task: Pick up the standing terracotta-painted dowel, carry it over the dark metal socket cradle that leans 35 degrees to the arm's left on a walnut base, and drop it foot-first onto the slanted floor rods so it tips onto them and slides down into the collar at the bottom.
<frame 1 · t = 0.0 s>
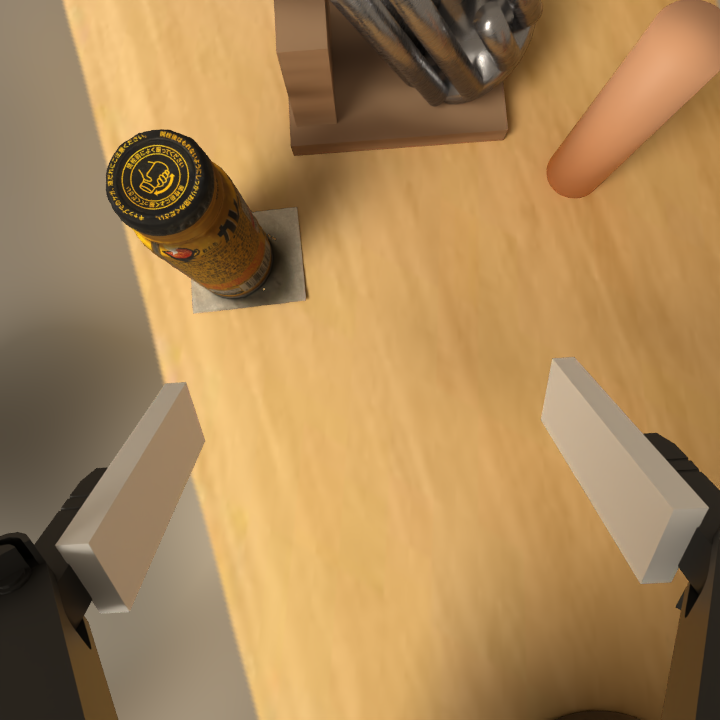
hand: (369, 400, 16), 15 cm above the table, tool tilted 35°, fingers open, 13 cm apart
socket: (456, 69, 33), resting on socket base
peg: (573, 172, 32), on the table
condiment: (247, 261, 32), on the table
socket base: (456, 69, 33), on the table
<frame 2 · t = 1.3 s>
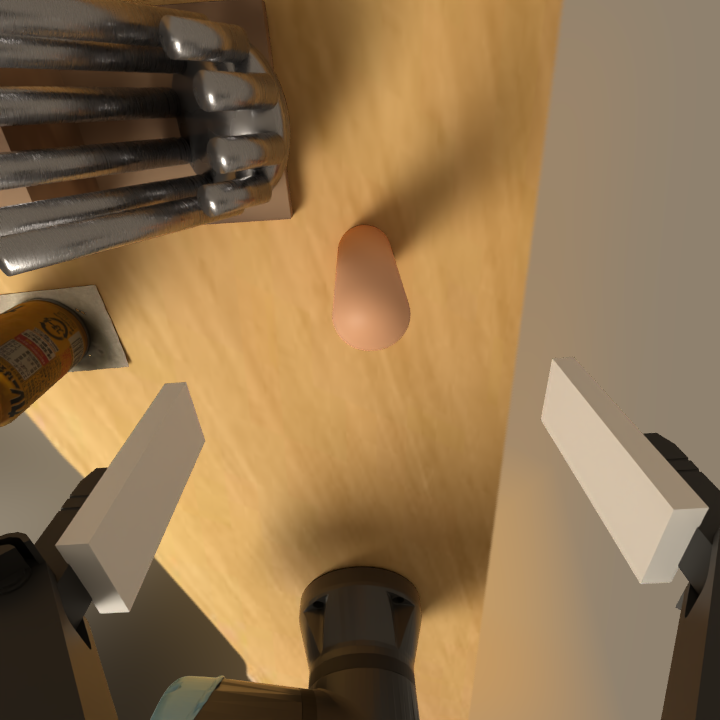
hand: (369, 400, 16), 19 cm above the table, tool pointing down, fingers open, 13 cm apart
socket: (234, 123, 28), resting on socket base
peg: (364, 251, 32), on the table
condiment: (65, 330, 35), on the table
socket base: (234, 123, 28), on the table
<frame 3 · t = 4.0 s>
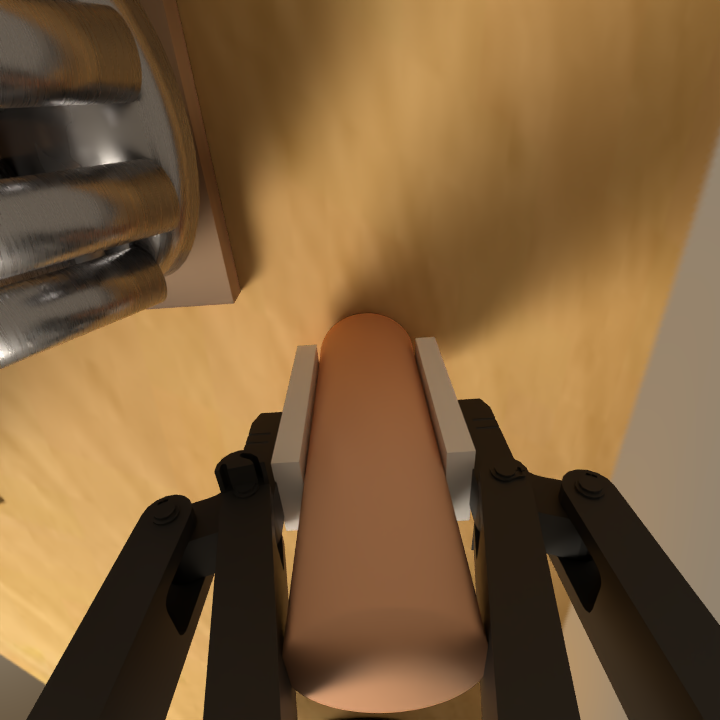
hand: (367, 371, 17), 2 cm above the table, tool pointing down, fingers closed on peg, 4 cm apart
socket: (114, 129, 14), resting on socket base
peg: (366, 355, 19), on the table, touching gripper
socket base: (114, 129, 14), on the table
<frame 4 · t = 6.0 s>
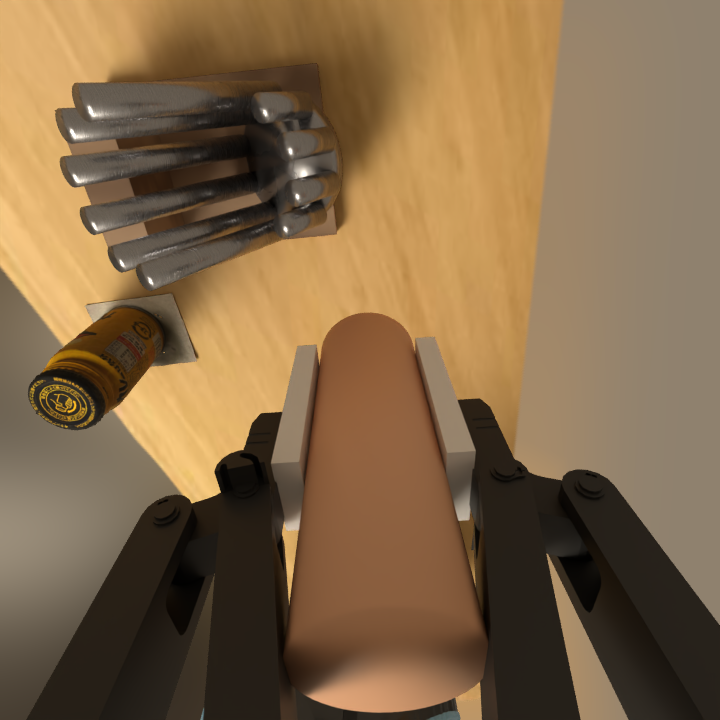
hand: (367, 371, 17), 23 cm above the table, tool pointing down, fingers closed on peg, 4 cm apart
socket: (291, 159, 34), resting on socket base
peg: (367, 355, 19), point 22 cm above the table, touching gripper
condiment: (144, 332, 42), on the table
socket base: (291, 159, 34), on the table
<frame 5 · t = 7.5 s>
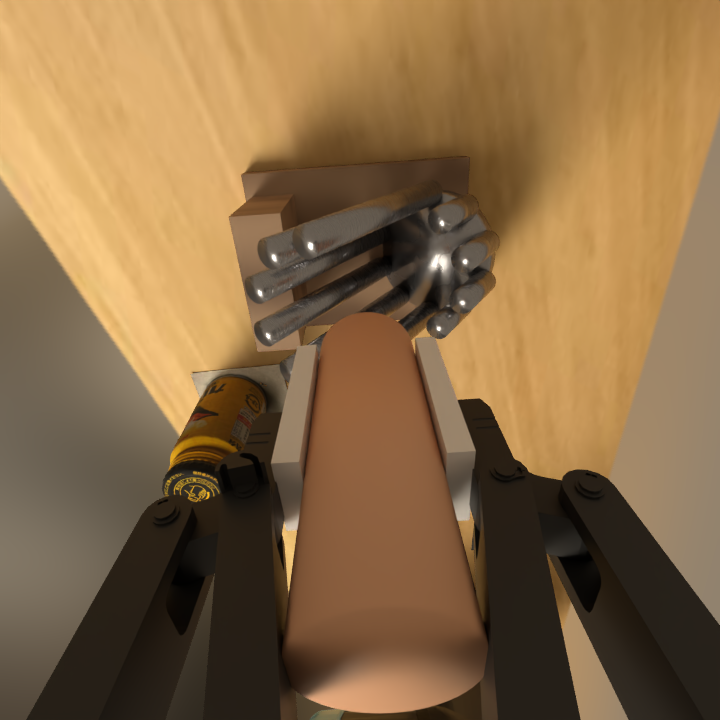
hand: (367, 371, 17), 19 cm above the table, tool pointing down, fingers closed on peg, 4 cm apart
socket: (423, 242, 34), resting on socket base
peg: (366, 354, 18), point 18 cm above the table, touching gripper
condiment: (246, 398, 41), on the table
socket base: (423, 242, 34), on the table
when the fingers open (13 cm above the table, at t = 8.7 s): peg drops 9 cm and tips over, resting on socket.
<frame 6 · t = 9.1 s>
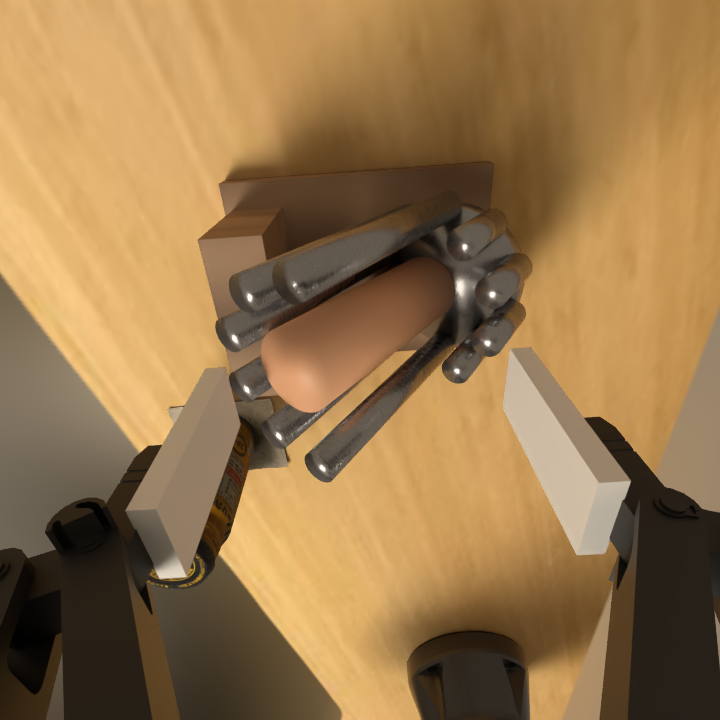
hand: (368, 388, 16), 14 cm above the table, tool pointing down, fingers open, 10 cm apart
socket: (435, 262, 29), resting on socket base
peg: (424, 288, 27), point 3 cm above the table, tilted 36°, touching socket
condiment: (231, 435, 36), on the table
socket base: (435, 262, 29), on the table
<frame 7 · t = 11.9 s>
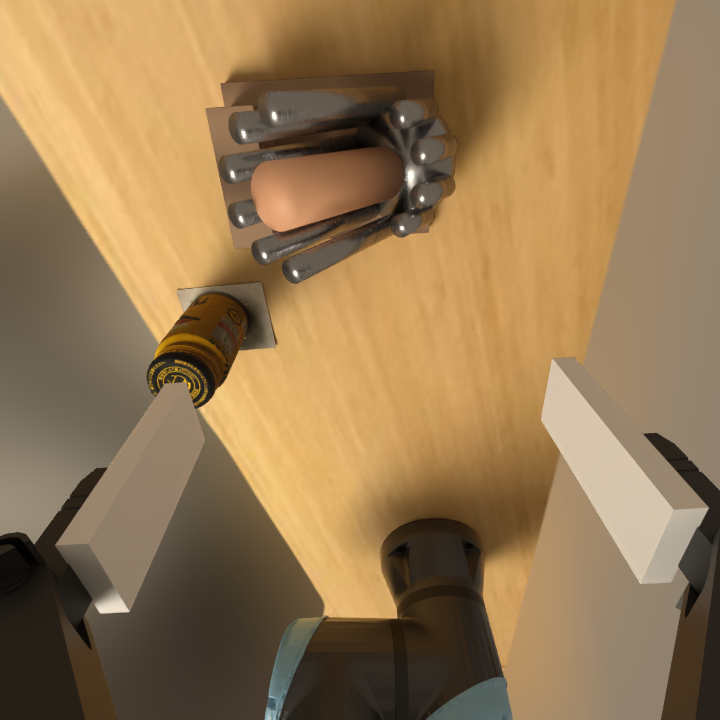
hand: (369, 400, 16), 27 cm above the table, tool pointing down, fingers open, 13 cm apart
socket: (393, 159, 36), resting on socket base
peg: (381, 174, 34), point 3 cm above the table, tilted 36°, touching socket
condiment: (228, 317, 44), on the table
socket base: (393, 159, 36), on the table
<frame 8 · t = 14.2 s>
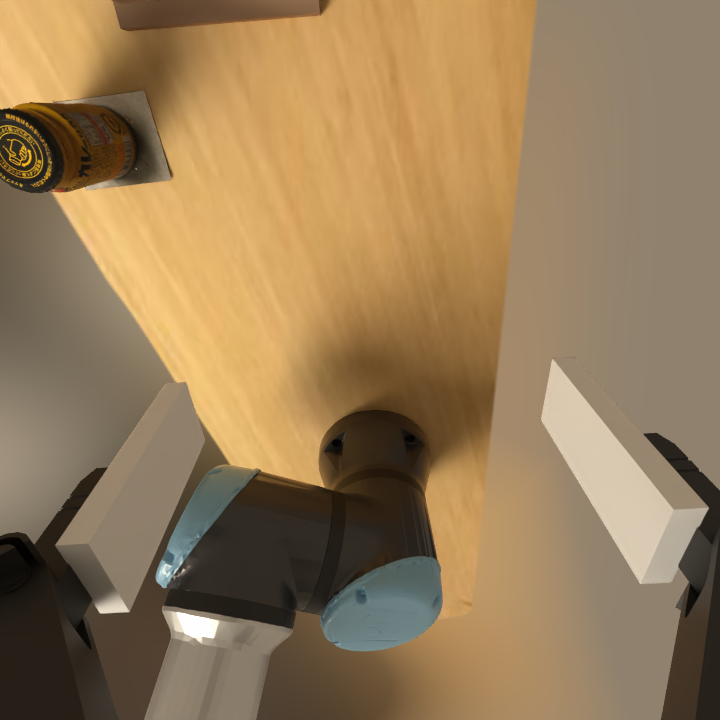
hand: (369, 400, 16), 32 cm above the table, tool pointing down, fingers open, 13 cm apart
condiment: (115, 142, 40), on the table
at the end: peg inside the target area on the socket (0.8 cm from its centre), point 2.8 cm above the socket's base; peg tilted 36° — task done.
